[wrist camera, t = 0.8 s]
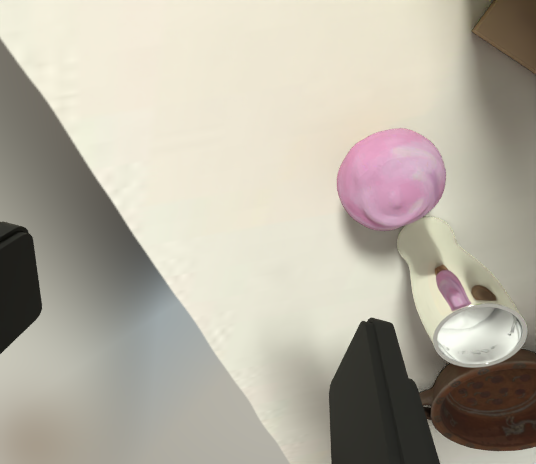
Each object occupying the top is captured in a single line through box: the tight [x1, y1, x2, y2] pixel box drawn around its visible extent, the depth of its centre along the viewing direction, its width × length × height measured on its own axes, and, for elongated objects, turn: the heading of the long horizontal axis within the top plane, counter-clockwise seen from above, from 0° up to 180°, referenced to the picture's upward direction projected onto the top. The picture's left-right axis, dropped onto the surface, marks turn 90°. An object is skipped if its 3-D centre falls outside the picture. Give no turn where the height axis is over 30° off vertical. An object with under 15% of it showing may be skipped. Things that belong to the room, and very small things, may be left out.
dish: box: [419, 349, 536, 451], centre depth 46 cm, size 17×22×5 cm
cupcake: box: [337, 128, 446, 231], centre depth 31 cm, size 9×9×10 cm
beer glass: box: [397, 217, 528, 368], centre depth 32 cm, size 7×7×15 cm
